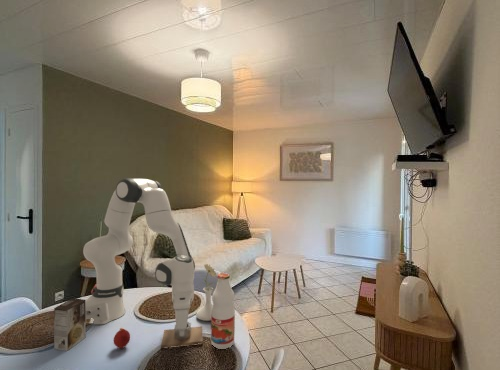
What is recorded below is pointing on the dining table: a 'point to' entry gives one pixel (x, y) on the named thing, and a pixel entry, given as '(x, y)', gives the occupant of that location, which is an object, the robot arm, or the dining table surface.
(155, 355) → the dining table surface
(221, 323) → the fruit juice
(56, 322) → the coffee box
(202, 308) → the flower in vase
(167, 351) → the dining table surface
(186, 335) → the steel collar
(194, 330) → the post board
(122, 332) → the onion
